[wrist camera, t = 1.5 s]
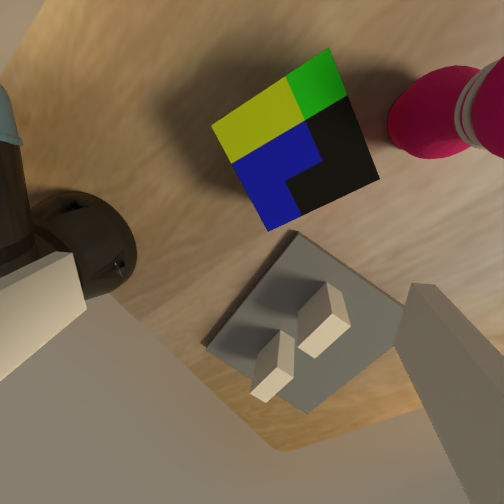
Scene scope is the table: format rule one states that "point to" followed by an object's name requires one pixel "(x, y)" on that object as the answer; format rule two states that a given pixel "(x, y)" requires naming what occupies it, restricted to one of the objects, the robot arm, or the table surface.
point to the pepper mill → (451, 112)
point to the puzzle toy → (297, 143)
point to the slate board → (286, 319)
